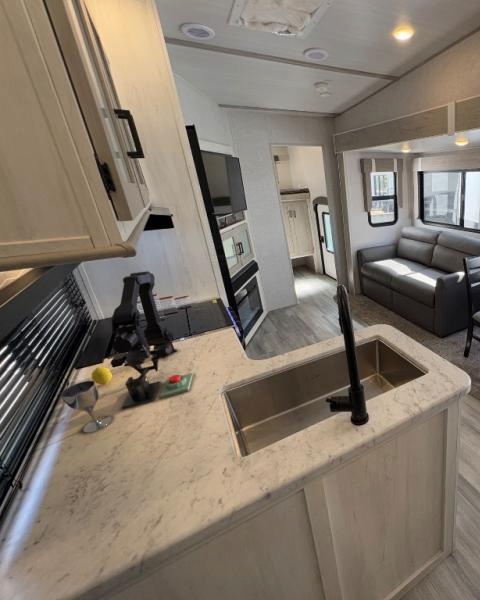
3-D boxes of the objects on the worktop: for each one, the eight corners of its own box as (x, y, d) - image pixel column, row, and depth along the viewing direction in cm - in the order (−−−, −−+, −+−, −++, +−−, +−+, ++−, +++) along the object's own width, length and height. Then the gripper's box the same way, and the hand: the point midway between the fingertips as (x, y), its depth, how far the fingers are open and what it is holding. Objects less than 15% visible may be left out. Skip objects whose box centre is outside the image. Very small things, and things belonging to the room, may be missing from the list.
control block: (167, 382, 124) (164, 375, 123) (192, 375, 128) (190, 369, 127) (160, 398, 115) (158, 392, 114) (188, 391, 119) (186, 384, 117)
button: (171, 379, 121) (169, 376, 121) (181, 377, 123) (180, 373, 122) (169, 385, 118) (167, 381, 118) (180, 382, 120) (178, 378, 119)
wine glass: (76, 430, 102) (54, 394, 96) (104, 413, 109) (85, 379, 103) (90, 436, 99) (69, 399, 93) (118, 418, 106) (100, 383, 100)
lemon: (118, 379, 127) (110, 363, 124) (105, 388, 122) (96, 371, 119) (106, 379, 128) (98, 363, 125) (93, 388, 123) (84, 371, 120)
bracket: (133, 389, 121) (125, 373, 118) (160, 383, 124) (154, 366, 121) (122, 409, 111) (114, 391, 108) (153, 401, 114) (145, 384, 111)
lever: (143, 372, 127) (141, 366, 126) (156, 369, 128) (154, 363, 128) (129, 388, 113) (127, 383, 113) (144, 385, 115) (142, 379, 114)
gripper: (97, 356, 111) (114, 390, 117) (159, 343, 118) (172, 376, 124) (109, 342, 120) (124, 375, 126) (165, 331, 127) (177, 362, 133)
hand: (149, 372), depth 127 cm, fingers closed on lever, 4 cm apart
